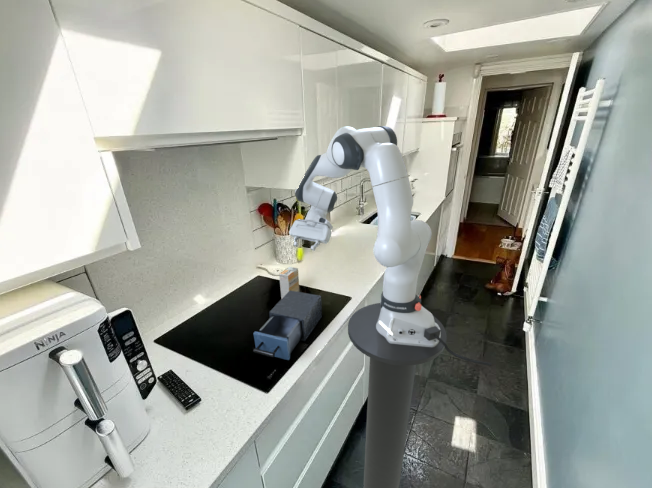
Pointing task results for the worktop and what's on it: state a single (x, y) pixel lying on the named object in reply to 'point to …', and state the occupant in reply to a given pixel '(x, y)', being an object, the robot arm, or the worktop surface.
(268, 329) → the drawer
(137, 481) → the worktop surface
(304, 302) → the drawer cabinet housing
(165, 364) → the worktop surface
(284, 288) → the supplement box
